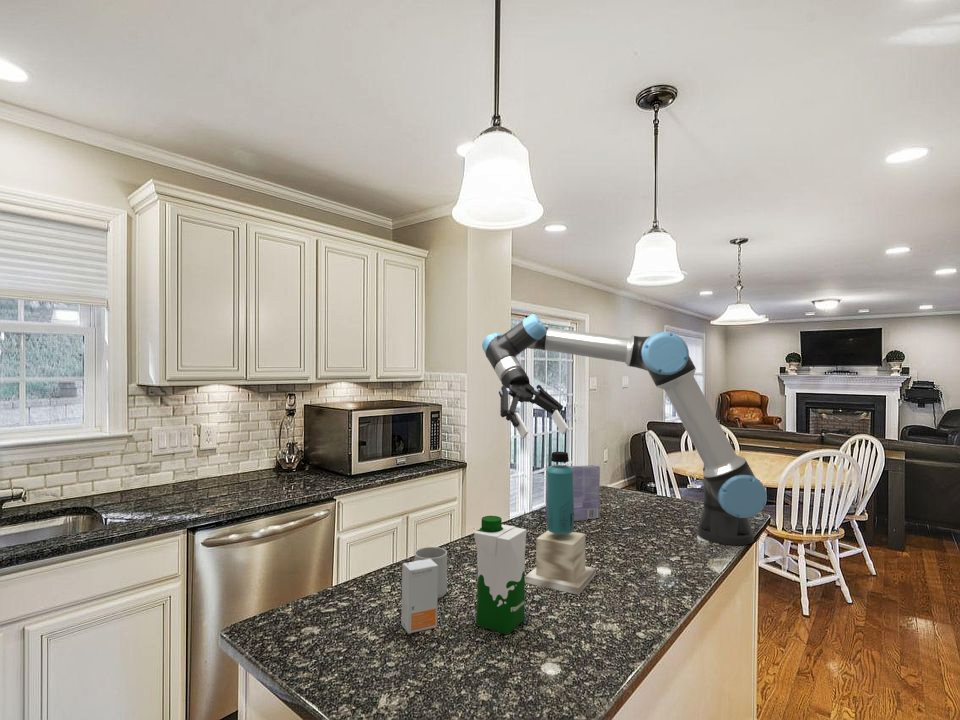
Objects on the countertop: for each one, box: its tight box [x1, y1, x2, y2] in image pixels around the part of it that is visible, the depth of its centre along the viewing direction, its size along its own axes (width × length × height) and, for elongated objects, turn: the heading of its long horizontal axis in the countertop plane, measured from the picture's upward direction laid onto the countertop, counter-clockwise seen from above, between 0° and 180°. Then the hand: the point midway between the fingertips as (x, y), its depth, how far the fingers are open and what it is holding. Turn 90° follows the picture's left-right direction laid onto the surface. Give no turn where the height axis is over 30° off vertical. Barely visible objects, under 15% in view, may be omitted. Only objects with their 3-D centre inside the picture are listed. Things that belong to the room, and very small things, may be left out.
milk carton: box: [473, 515, 527, 636], centre depth 101 cm, size 9×9×20 cm
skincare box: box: [400, 559, 439, 635], centre depth 99 cm, size 6×4×12 cm
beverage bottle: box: [545, 451, 575, 534], centre depth 122 cm, size 6×7×20 cm
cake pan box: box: [545, 464, 601, 522], centre depth 170 cm, size 19×5×18 cm, turn 108°
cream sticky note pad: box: [525, 529, 597, 596], centre depth 122 cm, size 13×13×10 cm
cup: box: [414, 546, 448, 599], centre depth 113 cm, size 7×10×9 cm
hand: (546, 433), depth 136 cm, fingers open, 13 cm apart
